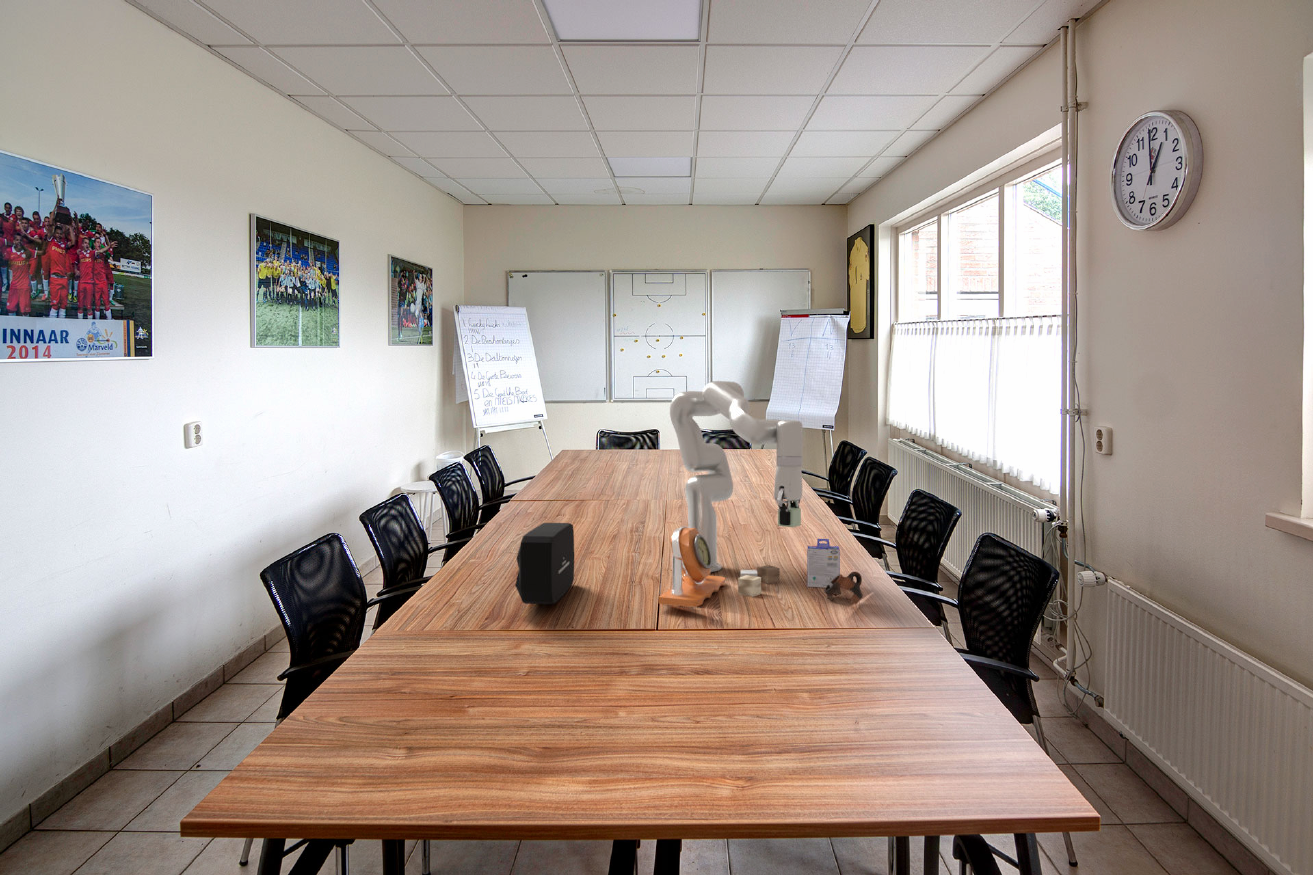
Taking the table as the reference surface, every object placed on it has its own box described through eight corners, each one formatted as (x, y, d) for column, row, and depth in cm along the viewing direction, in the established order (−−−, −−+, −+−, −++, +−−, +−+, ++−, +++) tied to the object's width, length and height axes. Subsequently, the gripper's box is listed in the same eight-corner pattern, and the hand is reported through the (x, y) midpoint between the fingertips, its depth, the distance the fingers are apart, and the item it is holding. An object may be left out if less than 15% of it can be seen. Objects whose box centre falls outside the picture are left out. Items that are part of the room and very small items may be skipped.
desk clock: (656, 605, 199) (656, 534, 198) (690, 581, 227) (690, 519, 226) (698, 609, 194) (698, 536, 194) (727, 584, 222) (727, 521, 222)
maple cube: (738, 594, 210) (738, 578, 210) (746, 591, 214) (746, 575, 214) (753, 597, 207) (753, 580, 207) (761, 593, 211) (761, 577, 211)
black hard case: (552, 609, 195) (551, 537, 194) (508, 608, 196) (507, 536, 196) (575, 582, 225) (574, 520, 224) (537, 582, 226) (536, 520, 226)
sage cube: (777, 525, 208) (777, 508, 208) (785, 523, 212) (785, 507, 212) (793, 527, 205) (793, 510, 205) (800, 525, 209) (800, 508, 209)
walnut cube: (756, 582, 225) (757, 566, 225) (768, 580, 228) (768, 564, 228) (767, 585, 221) (767, 569, 221) (779, 583, 224) (779, 567, 224)
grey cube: (741, 589, 216) (740, 573, 216) (740, 585, 221) (740, 569, 221) (757, 589, 216) (757, 573, 215) (756, 585, 221) (756, 570, 220)
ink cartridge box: (839, 584, 222) (839, 538, 221) (840, 588, 216) (840, 541, 216) (807, 583, 224) (807, 537, 223) (807, 587, 218) (807, 540, 218)
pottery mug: (851, 612, 196) (830, 590, 197) (837, 616, 205) (816, 596, 206) (876, 581, 201) (854, 561, 202) (861, 587, 209) (840, 567, 211)
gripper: (790, 460, 217) (790, 519, 218) (764, 463, 203) (764, 526, 204) (813, 461, 213) (812, 521, 213) (788, 464, 199) (788, 528, 199)
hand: (789, 523), depth 209 cm, fingers closed on sage cube, 5 cm apart
